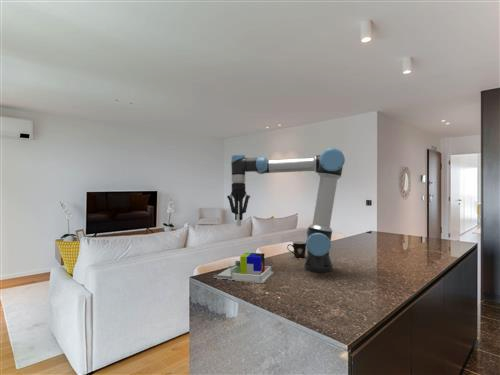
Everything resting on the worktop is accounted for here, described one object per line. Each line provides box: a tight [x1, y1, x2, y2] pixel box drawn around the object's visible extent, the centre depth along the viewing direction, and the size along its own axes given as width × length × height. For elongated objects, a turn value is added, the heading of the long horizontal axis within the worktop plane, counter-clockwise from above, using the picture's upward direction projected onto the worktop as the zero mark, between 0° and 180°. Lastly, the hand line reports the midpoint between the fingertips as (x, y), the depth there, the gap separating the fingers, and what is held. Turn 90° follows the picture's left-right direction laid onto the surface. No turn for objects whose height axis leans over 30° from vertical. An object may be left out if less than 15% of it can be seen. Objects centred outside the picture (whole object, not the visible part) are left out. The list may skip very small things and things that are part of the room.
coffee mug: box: [286, 241, 307, 259], centre depth 185 cm, size 12×9×10 cm
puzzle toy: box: [239, 252, 266, 275], centre depth 143 cm, size 10×10×10 cm
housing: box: [213, 265, 275, 284], centre depth 144 cm, size 26×19×3 cm
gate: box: [231, 260, 240, 276], centre depth 146 cm, size 2×17×6 cm, turn 160°
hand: (238, 226), depth 154 cm, fingers closed
